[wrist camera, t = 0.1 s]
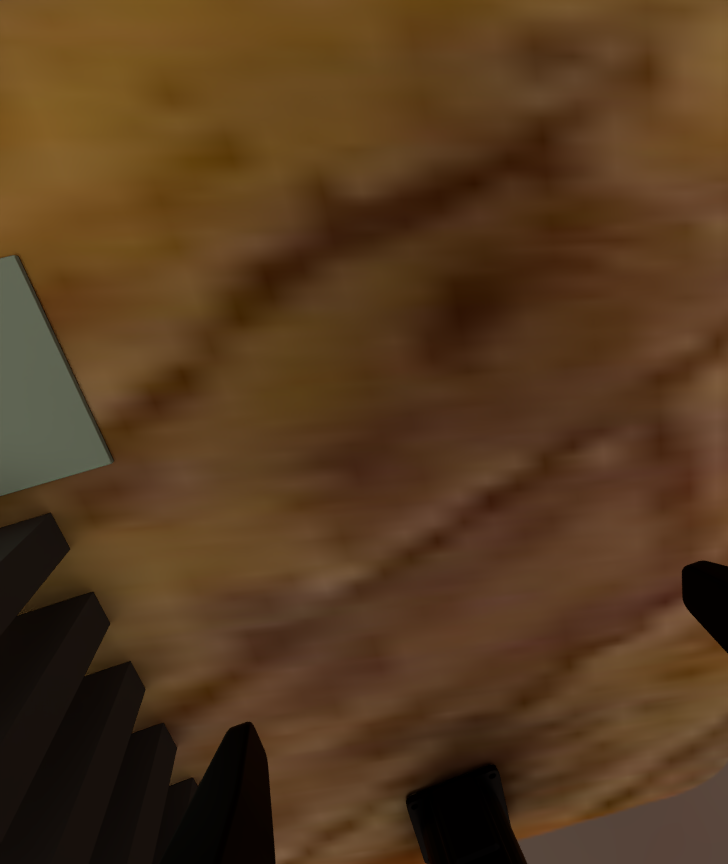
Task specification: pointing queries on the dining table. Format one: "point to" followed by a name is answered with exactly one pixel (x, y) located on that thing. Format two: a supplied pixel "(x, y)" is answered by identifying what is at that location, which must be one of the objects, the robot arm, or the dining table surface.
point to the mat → (38, 395)
